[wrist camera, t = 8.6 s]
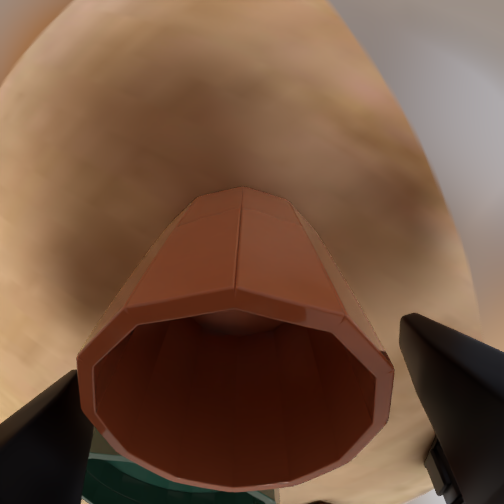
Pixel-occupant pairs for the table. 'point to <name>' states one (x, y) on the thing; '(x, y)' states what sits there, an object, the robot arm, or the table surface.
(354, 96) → the table surface
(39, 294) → the table surface
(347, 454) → the small pot
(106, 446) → the planter
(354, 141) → the table surface
